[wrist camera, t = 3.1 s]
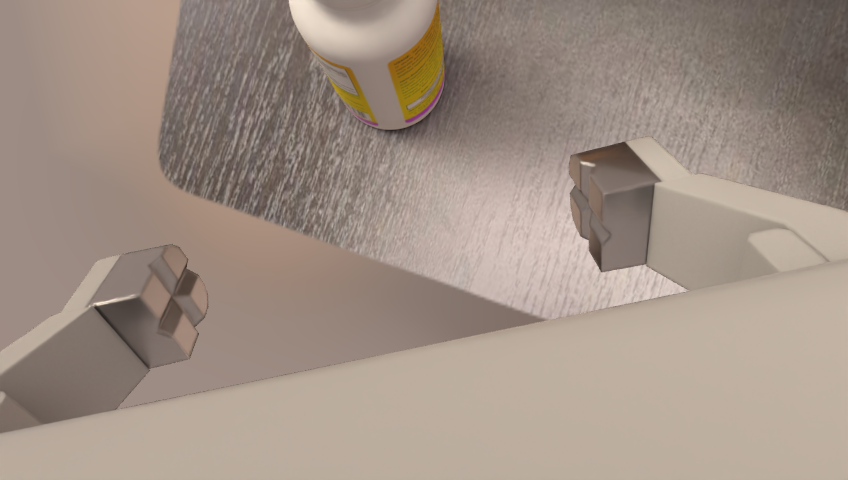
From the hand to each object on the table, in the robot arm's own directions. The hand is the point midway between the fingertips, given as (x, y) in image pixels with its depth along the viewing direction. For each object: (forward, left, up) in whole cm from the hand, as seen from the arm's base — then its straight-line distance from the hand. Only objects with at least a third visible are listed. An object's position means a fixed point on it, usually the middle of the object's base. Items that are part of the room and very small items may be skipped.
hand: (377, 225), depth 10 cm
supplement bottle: (-3, +12, -19) cm, 23 cm away
